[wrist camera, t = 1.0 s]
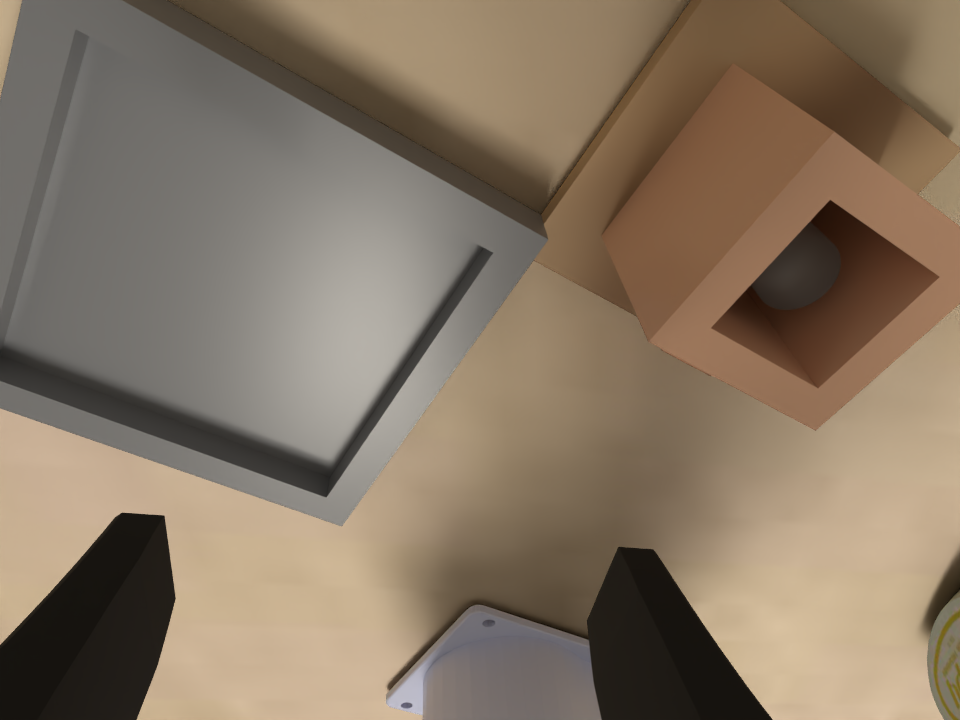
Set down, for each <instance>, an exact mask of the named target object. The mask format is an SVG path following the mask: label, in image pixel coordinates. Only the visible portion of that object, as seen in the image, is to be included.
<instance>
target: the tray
mask: <svg viewBox="0 0 960 720" xmlns="http://www.w3.org/2000/svg"><path fill="white" fill-rule="evenodd" d="M547 241H548V236H547V233H546V230H545V226H544V223H543V220H542V216H541V214H539V213H537V212H535V211H534V210H532V209H530V208H528V207H527V206H525V205H523V204H521V203H520V202H518V201H516V200H514V199H513V198H511V197H509V196H507V195H506V194H504V193H502V192H500V191H499V190H497V189H495V188H493V187H492V186H490V185H488V184H486V183H485V182H483V181H481V180H479V179H478V178H476V177H474V176H473V175H471V174H469V173H467V172H466V171H464V170H462V169H460V168H459V167H457V166H455V165H453V164H452V163H450V162H448V161H446V160H445V159H443V158H441V157H439V156H438V155H436V154H434V153H432V152H431V151H429V150H427V149H425V148H424V147H422V146H420V145H418V144H417V143H415V142H413V141H411V140H410V139H408V138H406V137H404V136H403V135H401V134H399V133H398V132H396V131H394V130H392V129H391V128H389V127H387V126H385V125H384V124H382V123H380V122H378V121H377V120H375V119H373V118H371V117H370V116H368V115H366V114H364V113H363V112H361V111H359V110H357V109H356V108H354V107H352V106H350V105H349V104H347V103H345V102H343V101H342V100H340V99H338V98H336V97H335V96H333V95H331V94H330V93H328V92H326V91H324V90H323V89H321V88H319V87H317V86H316V85H314V84H312V83H310V82H309V81H307V80H305V79H303V78H302V77H300V76H298V75H296V74H295V73H293V72H291V71H289V70H288V69H286V68H284V67H282V66H281V65H279V64H277V63H275V62H274V61H272V60H270V59H268V58H267V57H265V56H263V55H261V54H260V53H258V52H256V51H255V50H253V49H251V48H249V47H248V46H246V45H244V44H242V43H241V42H239V41H237V40H235V39H234V38H232V37H230V36H228V35H227V34H225V33H223V32H221V31H220V30H218V29H216V28H214V27H213V26H211V25H209V24H207V23H206V22H204V21H202V20H200V19H199V18H197V17H195V16H193V15H192V14H190V13H188V12H186V11H185V10H183V9H181V8H180V7H178V6H176V5H174V4H173V3H171V2H169V1H167V0H22V4H21V9H20V13H19V18H18V22H17V27H16V31H15V36H14V40H13V45H12V49H11V54H10V58H9V63H8V67H7V72H6V76H5V81H4V85H3V90H2V94H1V99H0V408H1V409H4V410H7V411H10V412H12V413H15V414H18V415H21V416H24V417H27V418H30V419H33V420H36V421H38V422H41V423H44V424H47V425H50V426H53V427H56V428H59V429H62V430H64V431H67V432H70V433H73V434H76V435H79V436H82V437H85V438H88V439H91V440H93V441H96V442H99V443H102V444H105V445H108V446H111V447H114V448H117V449H119V450H122V451H125V452H128V453H131V454H134V455H137V456H140V457H143V458H146V459H148V460H151V461H154V462H157V463H160V464H163V465H166V466H169V467H172V468H174V469H177V470H180V471H183V472H186V473H189V474H192V475H195V476H198V477H201V478H203V479H206V480H209V481H212V482H215V483H218V484H221V485H224V486H227V487H229V488H232V489H235V490H238V491H241V492H244V493H247V494H250V495H253V496H255V497H258V498H261V499H264V500H267V501H270V502H273V503H276V504H279V505H282V506H284V507H287V508H290V509H293V510H296V511H299V512H302V513H305V514H308V515H310V516H313V517H316V518H319V519H322V520H325V521H328V522H331V523H334V524H337V525H339V526H342V525H343V524H344V523H345V521H346V520H347V519H348V517H349V516H350V514H351V513H352V512H353V510H354V509H355V507H356V506H357V505H358V503H359V502H360V500H361V499H362V498H363V496H364V495H365V494H366V492H367V491H368V489H369V488H370V487H371V485H372V484H373V482H374V481H375V480H376V478H377V477H378V476H379V474H380V473H381V471H382V470H383V469H384V467H385V466H386V464H387V463H388V462H389V460H390V459H391V457H392V456H393V455H394V453H395V452H396V451H397V449H398V448H399V446H400V445H401V444H402V442H403V441H404V439H405V438H406V437H407V435H408V434H409V432H410V431H411V430H412V428H413V427H414V426H415V424H416V423H417V421H418V420H419V419H420V417H421V416H422V414H423V413H424V412H425V410H426V409H427V408H428V406H429V405H430V403H431V402H432V401H433V399H434V398H435V396H436V395H437V394H438V392H439V391H440V389H441V388H442V387H443V385H444V384H445V383H446V381H447V380H448V378H449V377H450V376H451V374H452V373H453V371H454V370H455V369H456V367H457V366H458V364H459V363H460V362H461V360H462V359H463V358H464V356H465V355H466V353H467V352H468V351H469V349H470V348H471V346H472V345H473V344H474V342H475V341H476V340H477V338H478V337H479V335H480V334H481V333H482V331H483V330H484V328H485V327H486V326H487V324H488V323H489V321H490V320H491V319H492V317H493V316H494V315H495V313H496V312H497V310H498V309H499V308H500V306H501V305H502V303H503V302H504V301H505V299H506V298H507V296H508V295H509V294H510V292H511V291H512V290H513V288H514V287H515V285H516V284H517V283H518V281H519V280H520V278H521V277H522V276H523V274H524V273H525V272H526V270H527V269H528V267H529V266H530V265H531V263H532V262H533V260H534V259H535V258H536V256H537V255H538V253H539V252H540V251H541V249H542V248H543V247H544V245H545V244H546V242H547Z"/></svg>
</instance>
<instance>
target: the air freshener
mask: <svg viewBox="0 0 960 720" xmlns="http://www.w3.org/2000/svg"><path fill="white" fill-rule="evenodd" d="M927 666H928V676H929V682H930V687H931V691H932V694H933V697H934V700H935V703H936V705H937V707H938V709H939V711H940V713H941V715H942V716H943V718H944V720H960V590H959V591H958V592H957V593H956V594H955V595H954V596H953V598H952V599H951V600H950V601H949V602H948V603H947V605H946V606H945V607H944V608H943V609H942V610H941V612H940V613H939V615H938V617H937V618H936V620H935V623H934V625H933V628H932V630H931V635H930V639H929V643H928V655H927Z"/></svg>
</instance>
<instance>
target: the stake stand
mask: <svg viewBox="0 0 960 720" xmlns="http://www.w3.org/2000/svg"><path fill="white" fill-rule="evenodd" d="M733 63H734V64H735V65H737V66H738V67H740V68H741V69H743V70H744V71H745V72H747V73H748V74H750V75H751V76H753V77H754V78H756V79H757V80H759V81H760V82H762V83H763V84H765V85H766V86H768V87H769V88H771V89H772V90H774V91H775V92H777V93H778V94H779V95H781V96H782V97H784V98H785V99H787V100H788V101H790V102H791V103H793V104H794V105H796V106H797V107H799V108H800V109H802V110H803V111H805V112H806V113H808V114H809V115H811V116H812V117H813V118H815V119H816V120H818V121H819V122H821V123H822V124H824V125H825V126H827V127H828V128H830V129H831V130H833V131H834V132H836V133H837V134H838V135H840V136H841V137H842V138H843V139H845V140H846V141H847V142H849V143H850V144H851V145H853V146H854V147H855V148H857V149H858V150H859V151H861V152H862V153H863V154H865V155H866V156H867V157H869V158H870V159H871V160H873V161H874V162H875V163H877V164H878V165H879V166H881V167H882V168H883V169H884V170H886V171H887V172H888V173H890V174H891V175H892V176H894V177H895V178H896V179H898V180H899V181H900V182H902V183H903V184H904V185H906V186H907V187H908V188H910V189H911V190H912V191H914V192H915V193H916V194H918V193H919V192H920V191H921V190H922V189H923V188H924V187H925V186H926V185H927V184H928V183H929V182H930V181H931V180H932V179H933V178H934V177H935V176H936V175H937V174H938V173H939V172H940V171H941V170H942V169H943V168H944V167H945V166H946V165H947V164H948V163H949V162H950V161H951V160H952V159H953V158H954V157H955V156H956V155H957V154H958V153H959V152H960V148H959V147H958V146H957V145H956V144H955V143H953V142H952V141H951V140H950V139H949V138H947V137H946V136H945V135H944V134H942V133H941V132H940V131H939V130H938V129H936V128H935V127H934V126H933V125H931V124H930V123H929V122H928V121H927V120H925V119H924V118H923V117H922V116H920V115H919V114H918V113H917V112H916V111H914V110H913V109H912V108H911V107H909V106H908V105H907V104H906V103H905V102H903V101H902V100H901V99H900V98H898V97H897V96H896V95H895V94H894V93H892V92H891V91H890V90H889V89H887V88H886V87H885V86H884V85H883V84H881V83H880V82H879V81H878V80H876V79H875V78H874V77H873V76H872V75H870V74H869V73H868V72H867V71H865V70H864V69H863V68H862V67H861V66H859V65H858V64H857V63H856V62H854V61H853V60H852V59H851V58H850V57H848V56H847V55H846V54H845V53H844V52H842V51H841V50H840V49H839V48H837V47H836V46H835V45H834V44H833V43H831V42H830V41H829V40H828V39H826V38H825V37H824V36H823V35H822V34H820V33H819V32H818V31H817V30H815V29H814V28H813V27H812V26H811V25H809V24H808V23H807V22H806V21H804V20H803V19H802V18H801V17H800V16H798V15H797V14H796V13H795V12H793V11H792V10H791V9H790V8H789V7H787V6H786V5H785V4H784V3H782V2H781V1H780V0H691V1H690V2H689V4H688V5H687V7H686V8H685V10H684V11H683V12H682V14H681V15H680V17H679V18H678V20H677V21H676V22H675V24H674V25H673V27H672V28H671V30H670V31H669V32H668V34H667V35H666V37H665V38H664V40H663V41H662V42H661V44H660V45H659V47H658V48H657V50H656V51H655V52H654V54H653V55H652V57H651V58H650V60H649V61H648V62H647V64H646V65H645V67H644V68H643V70H642V71H641V72H640V74H639V75H638V77H637V78H636V80H635V81H634V82H633V84H632V85H631V87H630V88H629V90H628V91H627V92H626V94H625V95H624V97H623V98H622V100H621V101H620V103H619V104H618V105H617V107H616V108H615V110H614V111H613V113H612V114H611V115H610V117H609V118H608V120H607V121H606V123H605V124H604V125H603V127H602V128H601V130H600V131H599V133H598V134H597V135H596V137H595V138H594V140H593V141H592V143H591V144H590V145H589V147H588V148H587V150H586V151H585V153H584V154H583V155H582V157H581V158H580V160H579V161H578V163H577V164H576V165H575V167H574V168H573V170H572V171H571V173H570V174H569V175H568V177H567V178H566V180H565V181H564V183H563V184H562V185H561V187H560V188H559V190H558V191H557V193H556V194H555V195H554V197H553V198H552V200H551V201H550V203H549V204H548V205H547V207H546V208H545V210H544V211H543V213H542V214H541V216H542V220H543V223H544V226H545V230H546V233H547V236H548V241H547V242H546V244H545V245H544V247H543V248H542V249H541V251H540V252H539V253H538V255H537V256H536V258H535V259H534V261H536V262H538V263H539V264H541V265H543V266H545V267H547V268H549V269H551V270H552V271H554V272H556V273H558V274H560V275H562V276H563V277H565V278H567V279H569V280H571V281H573V282H574V283H576V284H578V285H580V286H582V287H584V288H585V289H587V290H589V291H591V292H593V293H595V294H596V295H598V296H600V297H602V298H604V299H606V300H608V301H609V302H611V303H613V304H615V305H617V306H619V307H620V308H622V309H624V310H626V311H628V312H630V313H631V314H633V315H635V316H637V315H636V312H635V310H634V308H633V306H632V303H631V301H630V299H629V297H628V295H627V292H626V290H625V288H624V286H623V283H622V281H621V279H620V277H619V274H618V272H617V270H616V268H615V265H614V263H613V261H612V259H611V256H610V254H609V252H608V250H607V247H606V245H605V243H604V241H603V239H602V236H601V235H602V234H603V233H604V231H605V230H606V229H607V227H608V226H609V225H610V223H611V222H612V221H613V219H614V218H615V217H616V216H617V214H618V213H619V212H620V210H621V209H622V208H623V206H624V205H625V204H626V202H627V201H628V200H629V199H630V197H631V196H632V195H633V193H634V192H635V191H636V189H637V188H638V187H639V185H640V184H641V183H642V182H643V180H644V179H645V178H646V176H647V175H648V174H649V172H650V171H651V170H652V168H653V167H654V166H655V164H656V163H657V162H658V161H659V159H660V158H661V157H662V155H663V154H664V153H665V151H666V150H667V149H668V147H669V146H670V145H671V144H672V142H673V141H674V140H675V138H676V137H677V136H678V134H679V133H680V132H681V130H682V129H683V128H684V126H685V125H686V124H687V123H688V121H689V120H690V119H691V117H692V116H693V115H694V113H695V112H696V111H697V109H698V108H699V107H700V106H701V104H702V103H703V102H704V100H705V99H706V98H707V96H708V95H709V94H710V92H711V91H712V90H713V88H714V87H715V86H716V85H717V83H718V82H719V81H720V79H721V78H722V77H723V75H724V74H725V73H726V71H727V70H728V69H729V68H730V66H731V65H732V64H733ZM840 267H841V257H840V253H839V251H838V249H837V247H836V246H835V245H834V244H833V243H832V242H831V241H830V240H829V239H828V238H827V237H826V236H825V235H824V234H823V233H822V232H821V231H820V230H819V229H818V228H817V227H815V226H814V225H813V224H812V223H811V222H809V223H808V224H807V225H806V226H805V227H804V228H803V229H802V230H801V232H800V233H799V234H798V235H797V236H796V237H795V238H794V239H793V240H792V241H791V242H790V243H789V244H788V246H787V247H786V248H785V249H784V250H783V251H782V252H781V253H780V254H779V255H778V256H777V257H776V258H775V259H774V261H773V262H772V263H771V264H770V265H769V266H768V267H767V268H766V269H765V270H764V271H763V272H762V273H761V275H760V276H759V277H758V278H757V279H756V280H755V281H754V282H753V283H752V284H751V286H752V288H753V289H754V290H755V292H756V293H757V294H758V296H759V297H760V298H761V300H762V301H763V302H764V303H765V304H767V305H768V306H770V307H773V308H776V309H780V310H792V309H798V308H801V307H804V306H807V305H809V304H811V303H813V302H815V301H816V300H818V299H819V298H821V297H822V296H823V295H824V294H825V293H826V292H827V291H828V290H829V289H830V288H831V287H832V285H833V284H834V283H835V281H836V279H837V277H838V275H839V272H840Z"/></svg>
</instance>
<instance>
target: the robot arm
mask: <svg viewBox="0 0 960 720" xmlns="http://www.w3.org/2000/svg"><path fill="white" fill-rule="evenodd" d="M175 599H176V598H175V591H174V583H173V576H172V568H171V561H170V553H169V546H168V539H167V531H166V524H165V516H162V515H148V514H133V513H121V514H120V515H118V516H117V517H115V518H114V519H113V521H112V522H111V523H110V524H109V525H108V527H107V528H106V529H105V530H104V531H103V533H102V534H101V535H100V536H99V537H98V539H97V540H96V541H95V542H94V543H93V544H92V546H91V547H90V548H89V549H88V550H87V551H86V553H85V554H84V555H83V556H82V557H81V558H80V559H79V561H78V562H77V563H76V564H75V565H74V566H73V567H72V569H71V570H70V571H69V572H68V573H67V574H66V575H65V576H64V577H63V579H62V580H61V581H60V582H59V583H58V584H57V585H56V586H55V587H54V589H53V590H52V591H51V592H50V593H49V594H48V595H47V596H46V597H45V598H44V599H43V601H42V602H41V603H40V604H39V605H38V606H37V607H36V608H35V609H34V610H33V611H32V612H31V613H30V614H29V615H28V616H27V617H26V618H25V620H24V621H23V622H22V623H21V624H20V625H19V626H18V627H17V628H16V629H15V630H14V631H13V632H12V633H11V634H10V635H9V636H8V637H7V639H6V640H5V641H4V642H3V643H2V644H1V645H0V720H137V717H138V714H139V712H140V709H141V707H142V704H143V702H144V699H145V696H146V694H147V691H148V689H149V686H150V684H151V681H152V678H153V676H154V673H155V670H156V668H157V665H158V662H159V658H160V655H161V651H162V647H163V644H164V640H165V637H166V633H167V629H168V626H169V622H170V618H171V614H172V610H173V607H174V603H175ZM587 625H588V635H589V640H588V639H584V638H581V637H578V636H575V635H572V634H569V633H566V632H563V631H560V630H557V629H554V628H551V627H548V626H545V625H542V624H539V623H536V622H533V621H530V620H527V619H524V618H520V617H517V616H514V615H511V614H508V613H505V612H502V611H499V610H496V609H493V608H490V607H487V606H484V605H473V606H471V607H469V608H468V609H467V610H466V611H465V612H464V613H463V614H462V615H461V616H460V617H459V618H458V619H457V620H456V621H455V622H454V623H453V625H452V626H451V627H450V628H449V629H448V630H447V631H446V632H445V633H444V634H443V635H442V636H441V637H440V638H439V639H438V640H437V641H436V642H435V643H434V644H433V646H432V647H431V648H430V649H429V650H428V651H427V652H426V653H425V654H424V655H423V656H422V657H421V658H420V659H419V660H418V661H417V662H416V663H415V664H414V665H413V666H412V668H411V669H410V670H409V671H408V672H407V673H406V674H405V675H404V676H403V677H402V678H401V679H400V680H399V681H398V682H397V683H396V684H395V685H394V686H393V687H392V689H391V690H390V691H389V692H388V693H387V695H386V704H387V705H388V706H389V707H392V708H396V709H399V710H403V711H407V712H411V713H415V714H419V715H423V720H772V718H771V717H770V716H769V714H768V713H767V712H766V711H765V709H764V708H763V707H762V705H761V704H760V703H759V701H758V700H757V699H756V697H755V696H754V695H753V693H752V692H751V691H750V689H749V688H748V687H747V685H746V684H745V683H744V681H743V680H742V678H741V677H740V676H739V674H738V673H737V672H736V670H735V669H734V667H733V666H732V665H731V663H730V662H729V660H728V659H727V658H726V656H725V655H724V653H723V652H722V651H721V649H720V648H719V646H718V645H717V643H716V642H715V641H714V639H713V638H712V636H711V635H710V633H709V632H708V630H707V629H706V627H705V626H704V625H703V623H702V622H701V620H700V619H699V617H698V616H697V614H696V613H695V611H694V610H693V608H692V607H691V605H690V604H689V602H688V601H687V599H686V598H685V596H684V595H683V593H682V592H681V590H680V588H679V587H678V585H677V584H676V582H675V581H674V579H673V578H672V576H671V575H670V573H669V572H668V570H667V569H666V567H665V566H664V564H663V563H662V561H661V560H660V558H659V557H658V555H657V554H656V552H655V551H654V550H653V549H639V548H625V547H618V549H617V552H616V554H615V556H614V559H613V561H612V563H611V566H610V568H609V570H608V573H607V575H606V577H605V580H604V582H603V584H602V587H601V589H600V591H599V594H598V596H597V598H596V601H595V603H594V606H593V608H592V610H591V613H590V615H589V617H588V620H587Z"/></svg>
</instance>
